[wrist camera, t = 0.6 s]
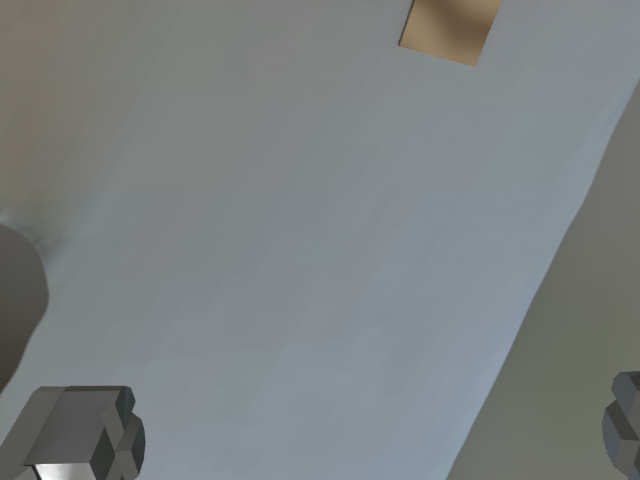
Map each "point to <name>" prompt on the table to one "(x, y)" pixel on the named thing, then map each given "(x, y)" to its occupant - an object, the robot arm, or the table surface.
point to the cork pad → (449, 28)
